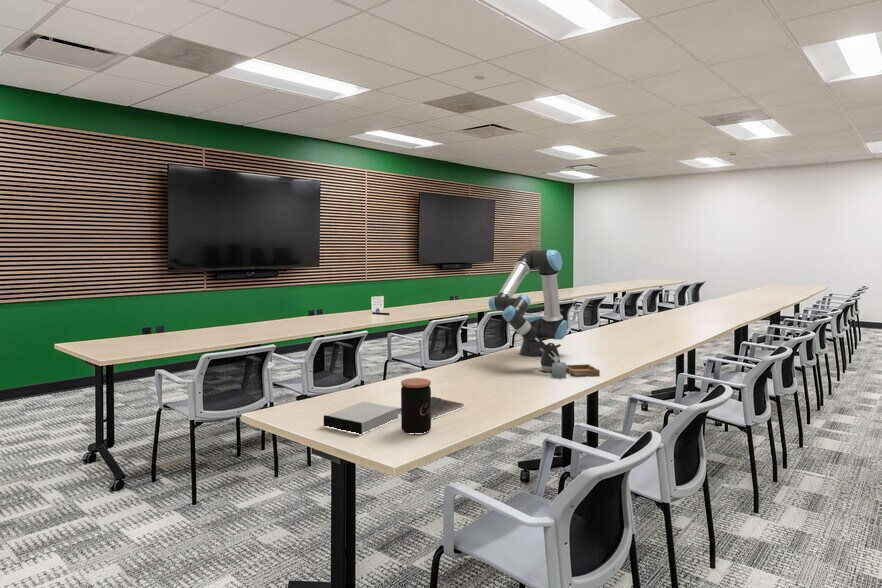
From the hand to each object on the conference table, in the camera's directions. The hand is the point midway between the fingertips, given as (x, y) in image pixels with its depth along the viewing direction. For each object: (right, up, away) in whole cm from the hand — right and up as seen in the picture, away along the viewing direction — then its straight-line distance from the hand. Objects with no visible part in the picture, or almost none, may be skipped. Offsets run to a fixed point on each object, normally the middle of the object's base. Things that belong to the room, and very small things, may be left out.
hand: (553, 358), depth 292 cm
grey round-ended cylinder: (0, -8, -12) cm, 15 cm away
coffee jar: (-68, -16, -92) cm, 116 cm away
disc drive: (-89, -15, -84) cm, 123 cm away
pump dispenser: (-2, -7, +1) cm, 7 cm away
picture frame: (-63, -14, -68) cm, 94 cm away
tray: (+13, -7, -5) cm, 16 cm away
